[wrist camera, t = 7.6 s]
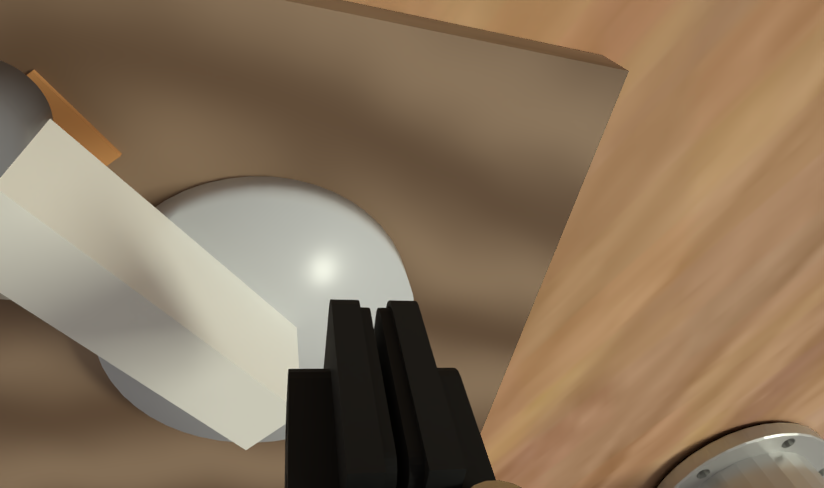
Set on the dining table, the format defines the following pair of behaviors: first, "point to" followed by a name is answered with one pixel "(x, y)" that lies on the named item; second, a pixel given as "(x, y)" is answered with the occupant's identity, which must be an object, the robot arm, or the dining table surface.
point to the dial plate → (308, 162)
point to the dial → (182, 274)
